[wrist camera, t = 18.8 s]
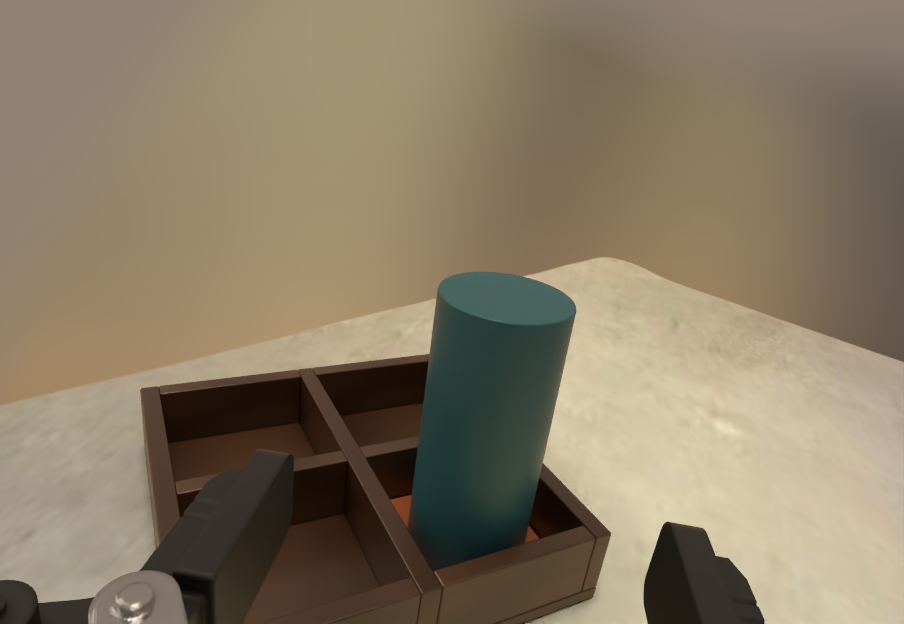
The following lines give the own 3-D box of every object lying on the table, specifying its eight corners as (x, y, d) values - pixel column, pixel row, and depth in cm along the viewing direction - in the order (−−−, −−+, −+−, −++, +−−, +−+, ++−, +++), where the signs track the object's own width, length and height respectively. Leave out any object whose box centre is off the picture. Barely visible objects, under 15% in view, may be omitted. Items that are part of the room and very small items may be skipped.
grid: (179, 753, 16) (174, 673, 15) (144, 447, 27) (140, 387, 26) (593, 597, 23) (612, 533, 21) (429, 401, 34) (436, 352, 33)
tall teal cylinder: (438, 601, 21) (481, 330, 17) (388, 515, 24) (415, 274, 20) (545, 567, 23) (606, 317, 19) (485, 491, 26) (526, 268, 22)
